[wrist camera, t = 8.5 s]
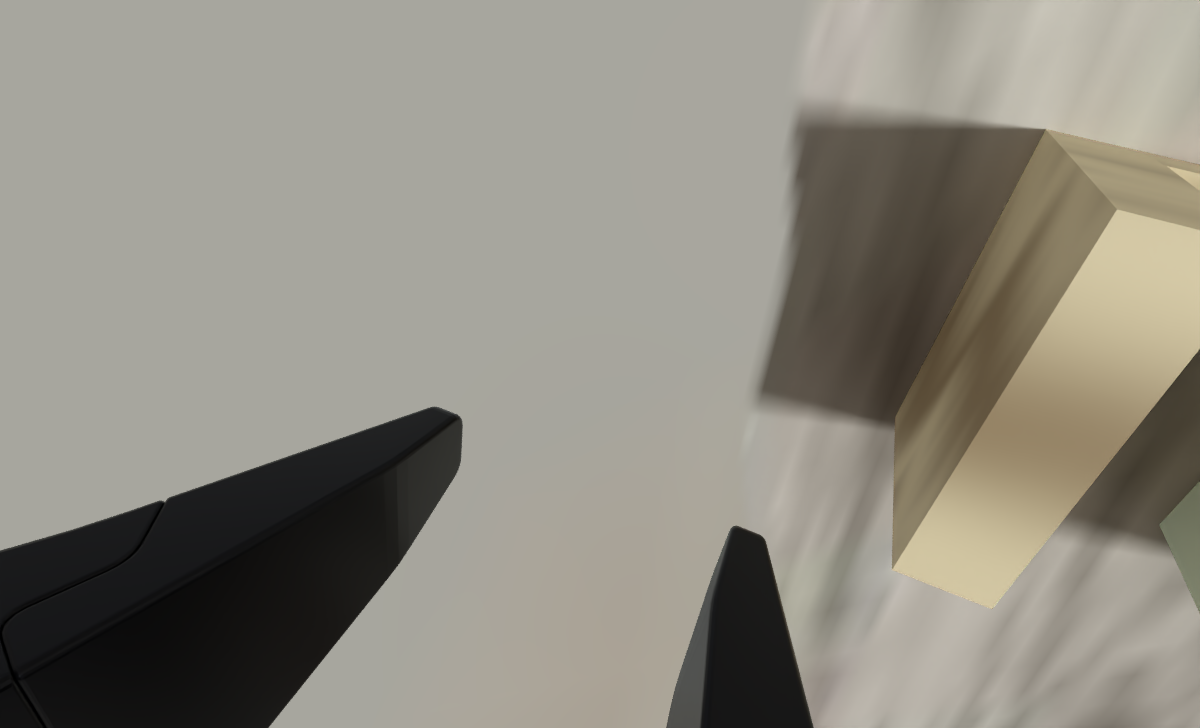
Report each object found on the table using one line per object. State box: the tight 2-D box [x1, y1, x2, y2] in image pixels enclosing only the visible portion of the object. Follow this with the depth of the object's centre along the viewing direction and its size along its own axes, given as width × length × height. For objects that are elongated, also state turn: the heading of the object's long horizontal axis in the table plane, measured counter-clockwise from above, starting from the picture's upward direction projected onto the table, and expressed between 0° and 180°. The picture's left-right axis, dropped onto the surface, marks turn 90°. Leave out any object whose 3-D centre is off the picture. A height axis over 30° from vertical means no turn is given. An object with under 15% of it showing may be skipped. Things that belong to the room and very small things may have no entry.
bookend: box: [892, 129, 1200, 609], centre depth 14 cm, size 8×4×6 cm, turn 171°
